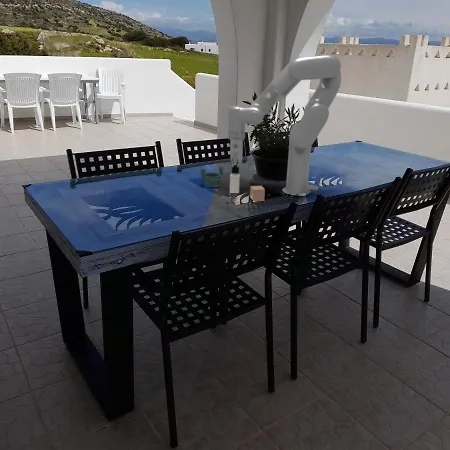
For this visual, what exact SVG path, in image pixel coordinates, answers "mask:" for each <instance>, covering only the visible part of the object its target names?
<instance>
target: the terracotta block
mask: <svg viewBox="0 0 450 450" xmlns="http://www.w3.org/2000/svg"><path fill="white" fill-rule="evenodd" d="M249 191H250V192H249V196H250V198H251V199H252V200H253V201H264V202H265V196H266V195H265V194H266V193H265V192H266V191H265V188H264V187H263V185H251V186H250V189H249Z"/></svg>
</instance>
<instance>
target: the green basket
mask: <svg viewBox="0 0 450 450" xmlns="http://www.w3.org/2000/svg"><path fill="white" fill-rule="evenodd" d="M218 172H219V173H218ZM218 172H206V169H205V167H200V177H201V178H202V179H203V180H202V181H203V182H202V184H203V183H205V184H208V185H219V184H221V185H222V183H221V182H222V179H221V178H222V176H223V175H224V166H223V165H220V166H219V170H218Z"/></svg>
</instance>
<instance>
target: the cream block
mask: <svg viewBox="0 0 450 450" xmlns="http://www.w3.org/2000/svg"><path fill="white" fill-rule="evenodd" d="M240 176H241V175H240V173H239V174H233V173H232V172H231V173H230V175H229V194H230V193H239V194H240Z"/></svg>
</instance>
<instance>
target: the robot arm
mask: <svg viewBox="0 0 450 450" xmlns="http://www.w3.org/2000/svg"><path fill="white" fill-rule="evenodd" d="M341 66H342V64H341V61H340V59H339V57H338V56H337V55H334V54H329V53H327V54H324V55H318V56H317V55H316V56H296V57H294V58H292V59H291V60H290V61H289V62H288V63H287V65H286V66H285V67H284V68H283V69H282V70H281V71H280V72H279V73H278V74H277V75H276V76H275V78H273V80H272V81H271V82H270V83H269V84H268V85H267V87H266V88H265V89H264V90H263V91H262V92H261V93H260V94H259V95H258V97H257V98H256V99H254V101H253V102H252V103H251V104H250V105H249V106H248V107H245V106H243V105H238V104H236V105H230V106H229V107H228V114H227V115H228V116H227V139H228V140H230V141H229V142H230V147H229V148H230V149H229V150H230V151H229V152H230V162H231V163H232V165H231V173H233V174H240V164H239V163H241V162H243V146H244V145H243V144H244V143H243V142H244V141H243V140H245V139H246V125H251V126H252V125H253V126H257V125H259V124H261V123H262V121H264V120H263V119H264V116H265V115H266V114H267V113H268V111H270V110H271V109H272V108H273V107H274V106H275V105H276V104H277V103H278V102H280V101H282V100H283V99H285V98H286V97H287V96H288V95H289V94H290V93H291V92H292V91H293V90H294V89H295V88H296V87H297V85H299V83H301V82H302V81H307V80H308V81H309V80H319V83H318V85H317V87H316V89H315V90H314V92H313V94H312V95H311V97H310V99H309V100H308V102H307V103H306V104H305V106H304V109H303V115H302V117H301V119H300V120H299V121H298V122H296V123H294V124H293V125H292V127H291V128H290V130H289V139H288V140H289V143H288V144H289V145H288V156H287V157H288V159H287V171H286V184H285V185H286V186H285V187H283V188H282V190H281V191H283V192H284V193H286V194H291V195H296V194H302V193H310V194H311V191H315V192H317V191H319V186H317V185H314V184H310V183H309V173H310V163H311V153H312V145H313V144H314V142H315V141H316V139H318V136H319V135H320V133H321V131H323V128H325V126H326V124H327V121H328V119H329V115H330V110H329V109H330V106H331V105H332V103H333V101H334V100H335V98H336V96H337V95H338V93H339V90H340V88H341V85H342V73H341V68H342V67H341ZM283 192H282V193H283ZM284 193H283V194H284Z"/></svg>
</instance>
